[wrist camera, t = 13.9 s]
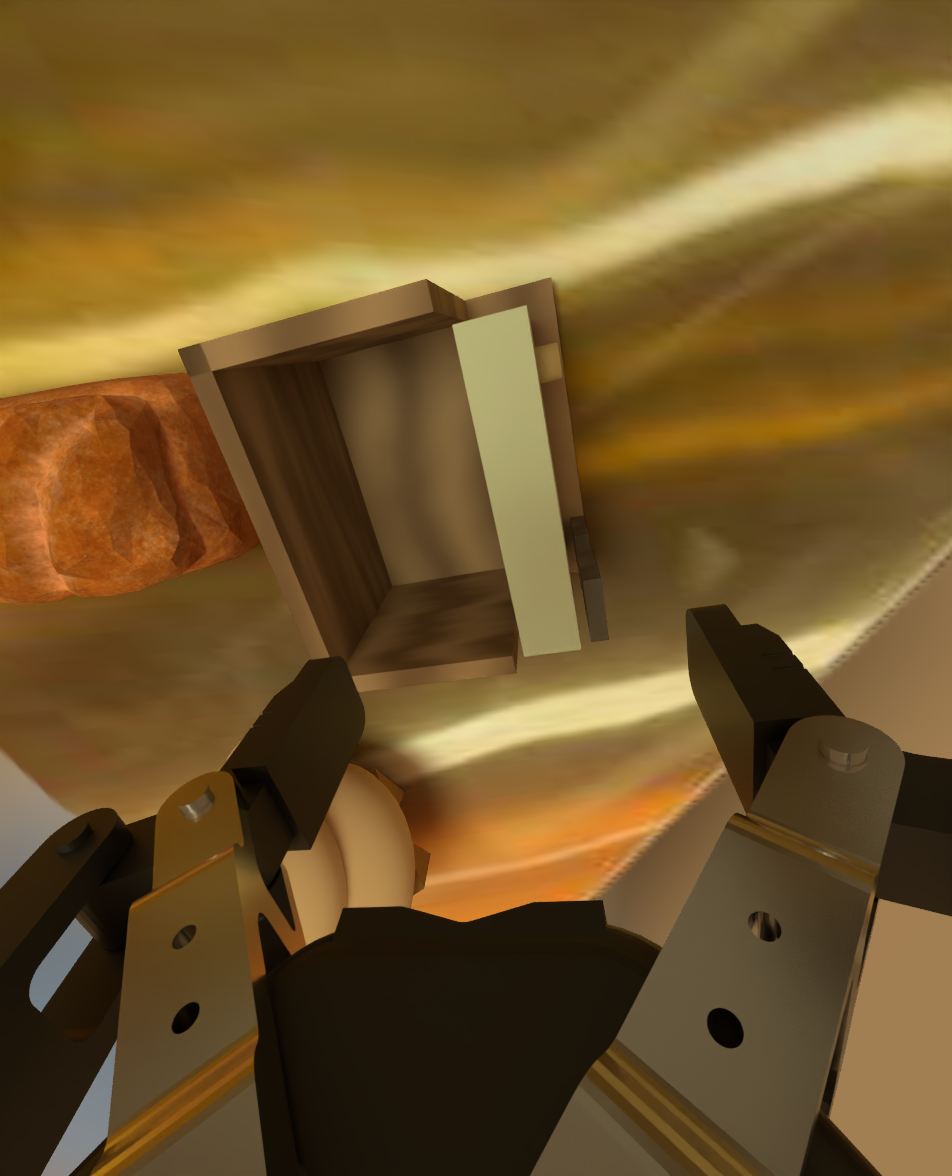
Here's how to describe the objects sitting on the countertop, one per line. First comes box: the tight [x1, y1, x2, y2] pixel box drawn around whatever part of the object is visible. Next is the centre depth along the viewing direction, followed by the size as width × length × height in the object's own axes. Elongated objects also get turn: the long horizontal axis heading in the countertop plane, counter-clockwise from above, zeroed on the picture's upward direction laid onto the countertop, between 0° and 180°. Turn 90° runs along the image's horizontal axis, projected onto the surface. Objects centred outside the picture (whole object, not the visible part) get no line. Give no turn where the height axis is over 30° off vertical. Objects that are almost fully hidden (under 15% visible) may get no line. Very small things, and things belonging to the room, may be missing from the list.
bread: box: [0, 373, 260, 605], centre depth 35 cm, size 14×26×16 cm, turn 98°
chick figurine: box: [215, 736, 430, 945], centre depth 43 cm, size 30×28×23 cm
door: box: [452, 305, 581, 657], centre depth 29 cm, size 4×16×14 cm, turn 13°
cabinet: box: [178, 278, 609, 692], centre depth 31 cm, size 18×20×14 cm
